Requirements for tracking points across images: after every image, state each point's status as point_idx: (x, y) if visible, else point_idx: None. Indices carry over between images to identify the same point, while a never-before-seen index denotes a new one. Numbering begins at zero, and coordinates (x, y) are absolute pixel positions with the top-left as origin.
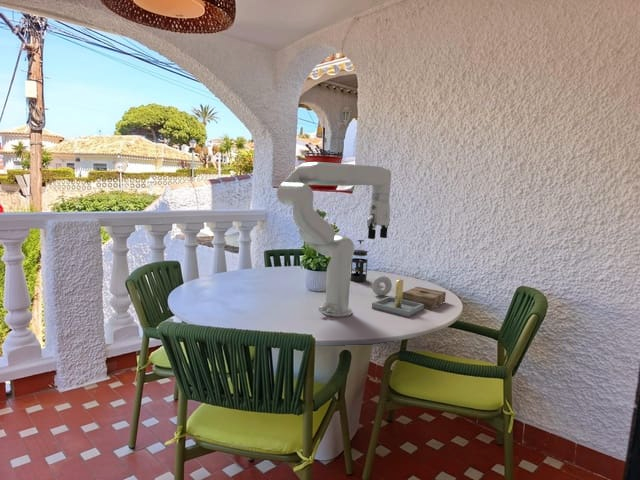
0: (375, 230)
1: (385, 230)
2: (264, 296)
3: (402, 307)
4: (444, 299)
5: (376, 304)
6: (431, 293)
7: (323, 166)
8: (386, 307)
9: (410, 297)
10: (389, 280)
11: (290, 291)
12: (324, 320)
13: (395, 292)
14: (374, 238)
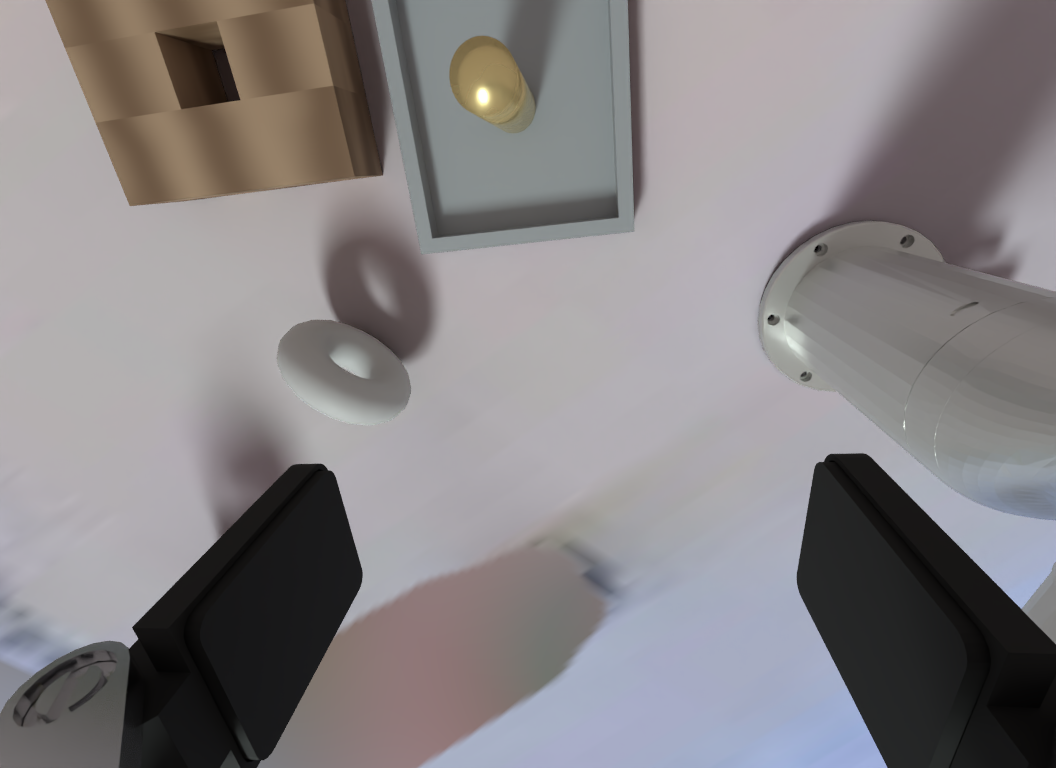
0: (997, 628)
1: (231, 616)
2: None
3: None
4: None
5: (632, 197)
6: (170, 2)
7: None
8: (630, 117)
9: (349, 108)
10: (296, 345)
11: (692, 641)
12: (1025, 258)
13: (520, 115)
14: (865, 455)
